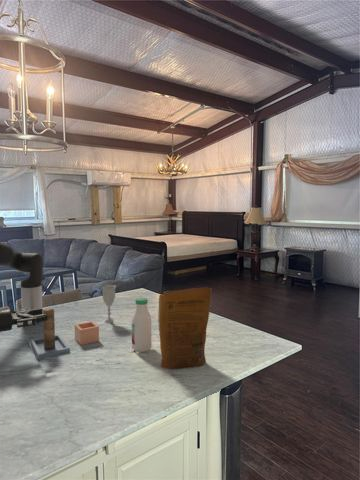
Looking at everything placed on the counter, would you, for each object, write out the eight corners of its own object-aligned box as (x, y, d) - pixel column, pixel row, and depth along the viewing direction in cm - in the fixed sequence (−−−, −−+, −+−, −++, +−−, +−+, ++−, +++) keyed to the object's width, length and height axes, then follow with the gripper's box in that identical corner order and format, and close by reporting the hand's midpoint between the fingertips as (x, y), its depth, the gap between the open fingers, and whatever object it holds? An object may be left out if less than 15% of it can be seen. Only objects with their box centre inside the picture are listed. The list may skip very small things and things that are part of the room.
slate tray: (30, 346, 130) (30, 339, 130) (59, 340, 137) (59, 334, 136) (38, 361, 117) (38, 354, 117) (70, 354, 123) (69, 347, 123)
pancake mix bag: (213, 368, 113) (214, 288, 111) (158, 373, 110) (158, 291, 107) (207, 359, 120) (209, 284, 118) (156, 363, 116) (156, 286, 114)
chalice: (112, 326, 153) (112, 288, 151) (99, 325, 154) (98, 288, 153) (118, 321, 160) (118, 285, 158) (105, 320, 161) (105, 284, 160)
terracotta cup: (74, 340, 136) (74, 324, 135) (92, 337, 140) (92, 321, 140) (80, 347, 130) (80, 330, 129) (99, 343, 134) (98, 326, 133)
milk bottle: (154, 346, 131) (154, 297, 129) (146, 354, 124) (146, 302, 122) (137, 343, 134) (137, 295, 132) (128, 351, 127) (127, 300, 125)
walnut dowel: (43, 346, 127) (41, 309, 126) (53, 344, 130) (52, 307, 128) (45, 350, 124) (44, 312, 123) (56, 348, 126) (55, 310, 125)
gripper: (-3, 316, 109) (48, 309, 119) (-7, 306, 121) (40, 300, 130) (-2, 338, 110) (49, 329, 119) (-6, 326, 122) (41, 318, 131)
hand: (44, 314), depth 125 cm, fingers open, 8 cm apart
